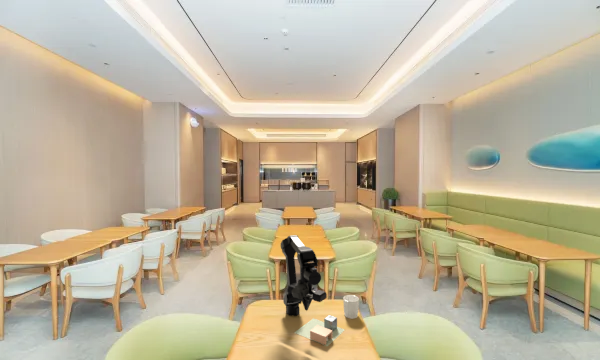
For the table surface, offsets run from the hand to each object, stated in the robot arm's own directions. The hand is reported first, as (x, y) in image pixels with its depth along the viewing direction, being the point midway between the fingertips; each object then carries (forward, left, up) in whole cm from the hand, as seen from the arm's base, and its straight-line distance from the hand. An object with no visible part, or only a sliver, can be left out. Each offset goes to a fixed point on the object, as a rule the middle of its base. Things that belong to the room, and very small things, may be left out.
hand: (306, 310), depth 137 cm
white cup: (+9, +27, -12) cm, 31 cm away
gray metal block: (+7, +10, -11) cm, 16 cm away
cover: (+8, 0, -11) cm, 13 cm away
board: (+4, +5, -12) cm, 14 cm away
